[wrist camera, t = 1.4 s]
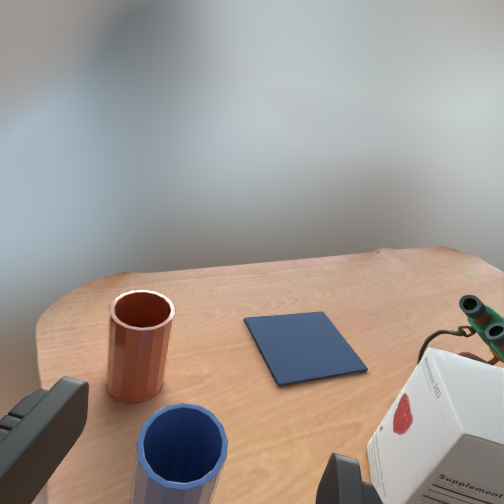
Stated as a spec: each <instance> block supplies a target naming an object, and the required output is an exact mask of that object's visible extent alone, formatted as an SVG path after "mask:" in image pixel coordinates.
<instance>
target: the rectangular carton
mask: <svg viewBox="0 0 504 504" xmlns="http://www.w3.org/2000/svg"><path fill="white" fill-rule="evenodd" d="M367 452H368V460H369V468H370V476H371V483H372V484H373V485H374V487H375V489H376V491H377V493H378V494H379V496H380V498H381V500H382V502H383V504H504V369H503V368H500V367H496V366H493V365H489V364H486V363H482V362H479V361H476V360H472V359H469V358H466V357H463V356H460V355H457V354H454V353H451V352H447V351H444V350H440V349H435V348H431V347H429V348H428V350H427V351H426V353H425V354H424V356H423V358H422V359H421V361H420V362H419V364H418V365H417V367H416V369H415V370H414V372H413V373H412V375H411V376H410V378H409V380H408V381H407V383H406V384H405V386H404V387H403V389H402V391H401V392H400V394H399V395H398V397H397V398H396V400H395V402H394V403H393V405H392V406H391V408H390V409H389V411H388V413H387V414H386V416H385V417H384V419H383V420H382V422H381V424H380V425H379V427H378V428H377V430H376V432H375V433H374V435H373V436H372V438H371V439H370V441H369V442H368V444H367Z"/></svg>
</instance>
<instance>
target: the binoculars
mask: <svg viewBox="0 0 504 504" xmlns="http://www.w3.org/2000/svg"><path fill="white" fill-rule="evenodd" d="M459 305H460V308H461V310H462V311H463V312H464V313H465V314H466V315H467V318H468V322H469V323H470V324H471V327H470V326H460V327H458V331H447V330H438V331H436V332H434V333H433V334H431V335H430V336H429V337H428V338H427V339H426V340H425V341H424V343H423V345H422V347H421V349H420V351H419V355H418V360H417V365H418V364H419V362H420V361H421V359H422V356H423V353H424V351H425V349H426V347H427V345H428V343H429V342H430V341H431V340H432V339H433V338H435V337H436V336H438V335H440V334H452V335H456V336H465V337H469V336H472V335H474V334H475V333H476V332H477V333H478V335H479V336H480V337H481V338H482V340H483V341H484V342H485V343H486V344H487V345H488V346H489V349H490V351H491V352H492V353H493V355H494V358H493V359H491V360H490V361H488V362H486V361H485V360H483V359H481V358H479V357H478V356H476V355H474V354H472V353H469V352H461V353H458V354H457V355H460V356H463V357H466V358H469V359H472V360H476V361H479V362H482V363H486V364H489V365H494V364H496V363H497V362H498V361H499V360H500V361H501V362H503V363H504V318H503V317H501V316H500V315H499V314H498V313H496V312H495V311H494V310H493V309H491V308H490V307H488V306H486V305H484V304H483V303H482V302H481V301H480V300H479V298H477V297H476V296H473V295H465V296H463V297H462V298H461V299H460V302H459ZM463 328H468V329H469V330H470V332H471V333H470V334H468V335H466V332H465V331H464V330H463Z"/></svg>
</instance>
